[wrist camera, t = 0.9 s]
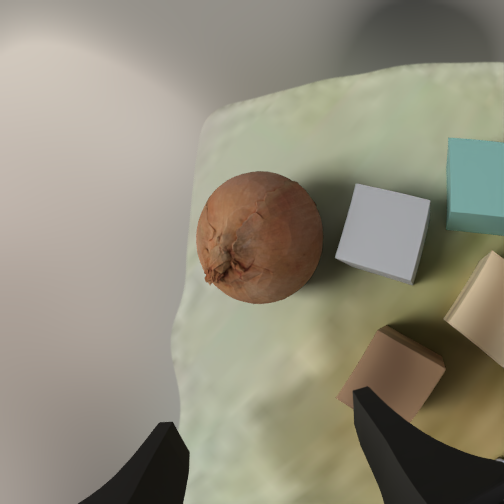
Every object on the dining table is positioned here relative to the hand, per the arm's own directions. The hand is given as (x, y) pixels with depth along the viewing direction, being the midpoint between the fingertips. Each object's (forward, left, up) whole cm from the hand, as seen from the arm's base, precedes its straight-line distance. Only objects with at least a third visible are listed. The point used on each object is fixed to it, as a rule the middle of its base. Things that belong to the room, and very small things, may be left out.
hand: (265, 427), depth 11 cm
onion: (+10, -6, -14) cm, 18 cm away
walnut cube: (-3, -2, -14) cm, 14 cm away
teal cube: (-3, -16, -14) cm, 21 cm away
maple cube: (-7, -9, -14) cm, 18 cm away
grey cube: (+2, -10, -14) cm, 17 cm away
